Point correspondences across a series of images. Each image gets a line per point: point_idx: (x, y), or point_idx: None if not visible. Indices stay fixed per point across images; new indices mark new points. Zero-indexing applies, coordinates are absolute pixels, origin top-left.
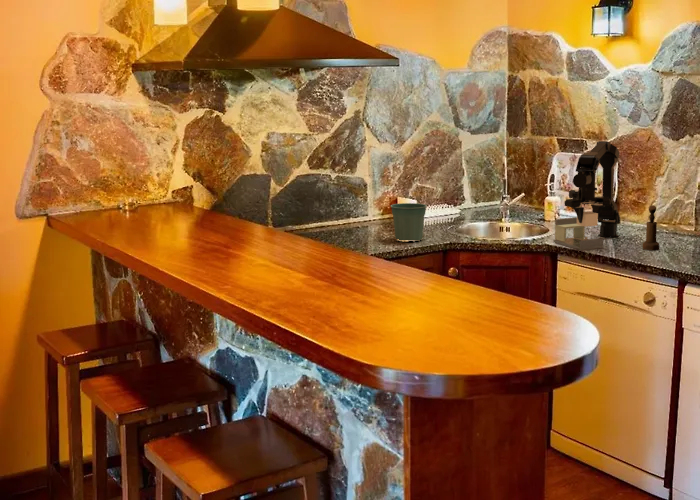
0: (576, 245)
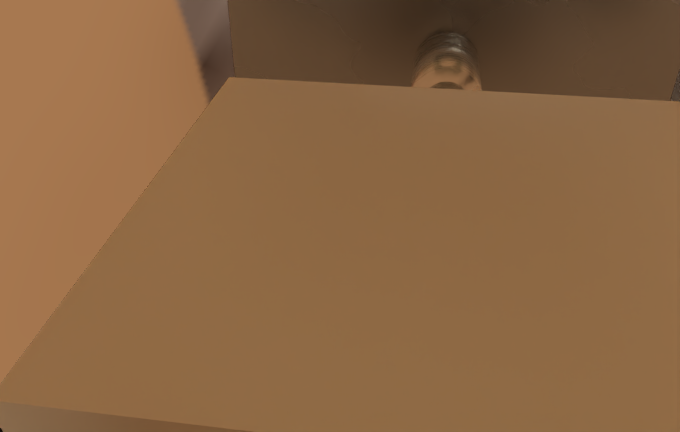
0: (275, 39)
